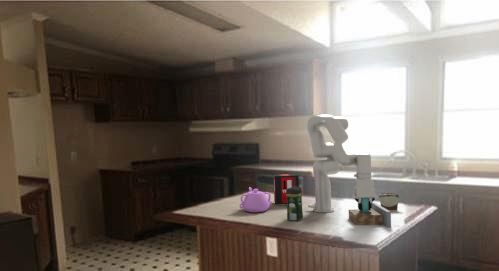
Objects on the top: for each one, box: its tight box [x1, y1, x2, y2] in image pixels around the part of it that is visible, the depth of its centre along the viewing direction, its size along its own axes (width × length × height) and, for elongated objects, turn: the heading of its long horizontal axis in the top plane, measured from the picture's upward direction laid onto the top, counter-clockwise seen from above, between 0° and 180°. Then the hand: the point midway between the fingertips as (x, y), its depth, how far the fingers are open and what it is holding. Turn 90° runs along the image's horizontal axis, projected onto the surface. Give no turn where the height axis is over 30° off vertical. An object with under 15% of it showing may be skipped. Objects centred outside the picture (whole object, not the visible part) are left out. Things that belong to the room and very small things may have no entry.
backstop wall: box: [372, 201, 392, 228], centre depth 186 cm, size 2×24×8 cm, turn 179°
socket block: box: [348, 208, 383, 226], centre depth 186 cm, size 14×14×5 cm
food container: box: [378, 192, 400, 211], centre depth 215 cm, size 12×6×10 cm, turn 84°
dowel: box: [361, 198, 369, 214], centre depth 186 cm, size 4×4×12 cm
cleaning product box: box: [273, 173, 300, 205], centre depth 241 cm, size 16×9×20 cm, turn 90°
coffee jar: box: [286, 186, 304, 222], centre depth 196 cm, size 10×8×19 cm
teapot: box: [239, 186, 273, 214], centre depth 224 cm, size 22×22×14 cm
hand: (364, 209), depth 186 cm, fingers open, 4 cm apart
